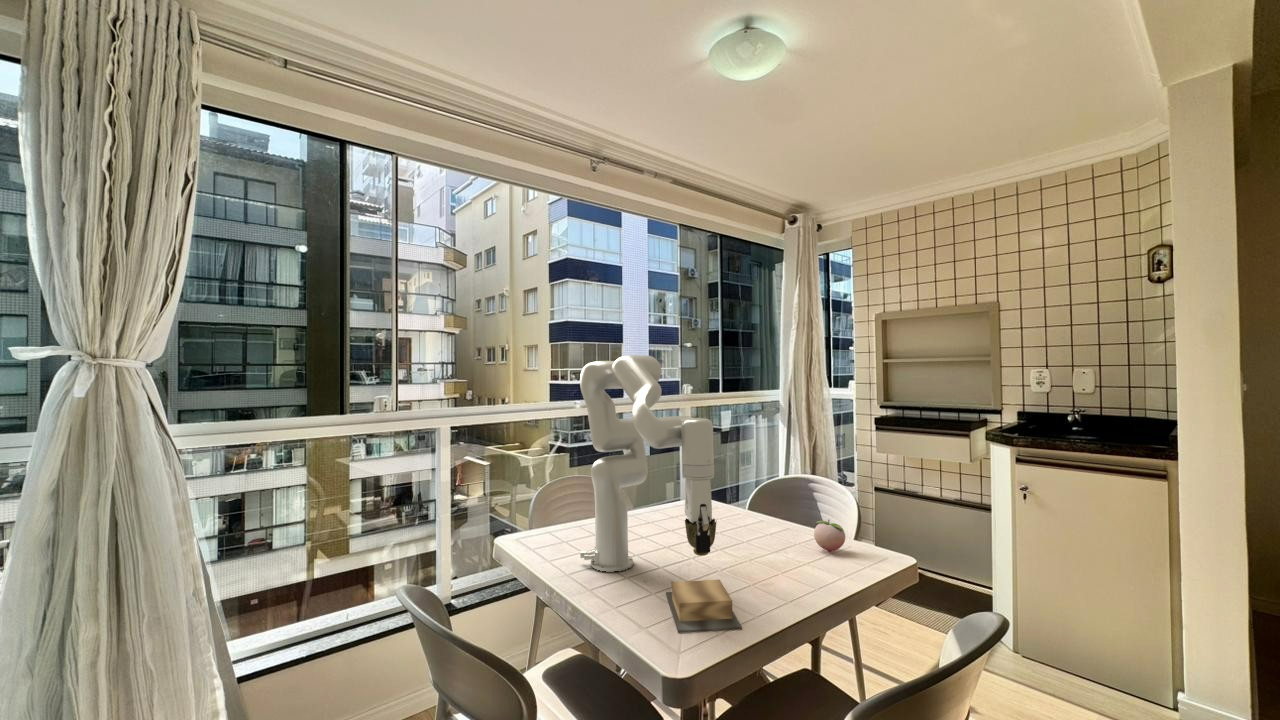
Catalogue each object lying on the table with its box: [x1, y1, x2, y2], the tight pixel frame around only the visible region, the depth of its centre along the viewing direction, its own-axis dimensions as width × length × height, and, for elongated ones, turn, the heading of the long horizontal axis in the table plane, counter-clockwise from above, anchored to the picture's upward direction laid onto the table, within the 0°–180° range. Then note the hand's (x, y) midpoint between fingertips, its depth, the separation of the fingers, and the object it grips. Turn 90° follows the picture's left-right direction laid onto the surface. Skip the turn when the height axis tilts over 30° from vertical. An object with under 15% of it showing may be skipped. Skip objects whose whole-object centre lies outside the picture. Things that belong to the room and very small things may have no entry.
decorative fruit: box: [813, 519, 846, 553], centre depth 158 cm, size 9×8×10 cm
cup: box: [684, 517, 718, 557], centre depth 121 cm, size 8×7×8 cm
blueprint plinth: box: [665, 579, 743, 634], centre depth 121 cm, size 14×20×4 cm
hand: (700, 546), depth 121 cm, fingers closed on cup, 6 cm apart
